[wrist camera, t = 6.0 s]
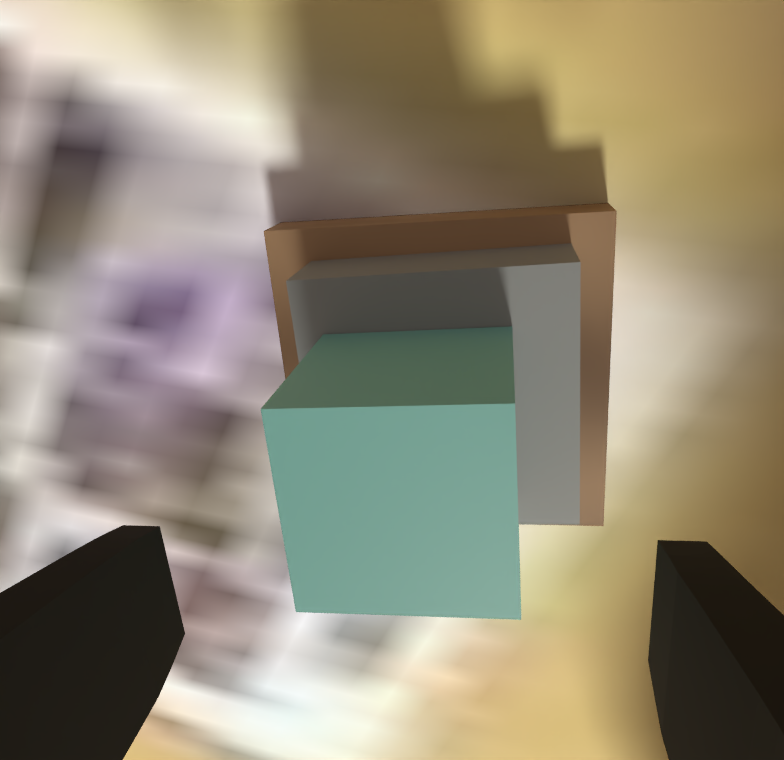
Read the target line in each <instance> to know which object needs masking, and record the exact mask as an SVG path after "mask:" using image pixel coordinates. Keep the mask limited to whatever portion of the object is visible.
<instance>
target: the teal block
mask: <svg viewBox="0 0 784 760" xmlns="http://www.w3.org/2000/svg"><path fill="white" fill-rule="evenodd" d="M261 413H262V419H263V425H264V431H265V436H266V442H267V448H268V454H269V459H270V465H271V471H272V477H273V482H274V488H275V494H276V500H277V505H278V511H279V517H280V523H281V528H282V534H283V540H284V546H285V551H286V557H287V563H288V569H289V574H290V580H291V586H292V592H293V597H294V603H295V609H296V612H312V613H342V614H371V615H400V616H430V617H459V618H488V619H518V620H521V594H520V558H519V523H518V487H517V452H516V416H515V386H514V358H513V330H512V326H509V327H486V328H462V329H438V330H415V331H391V332H368V333H344V334H323V335H322V336H321V338H320V339H319V340H318V341H317V342H316V344H315V345H314V346H313V347H312V348H311V350H310V351H309V352H308V353H307V354H306V356H305V357H304V358H303V359H302V360H301V362H300V363H299V364H298V365H297V366H296V368H295V369H294V370H293V371H292V372H291V374H290V375H289V376H288V377H287V378H286V380H285V381H284V382H283V383H282V384H281V386H280V387H279V388H278V389H277V390H276V392H275V393H274V394H273V395H272V396H271V398H270V399H269V400H268V401H267V402H266V403H265V405H264V406H263V407H262V408H261Z"/></svg>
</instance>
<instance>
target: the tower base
mask: <svg viewBox="0 0 784 760" xmlns="http://www.w3.org/2000/svg"><path fill="white" fill-rule="evenodd" d="M615 234H616V210H615V209H614V208H613V207H612V206H611V205H610V204H608V203H600V204H583V205H567V206H550V207H533V208H516V209H500V210H483V211H466V212H449V213H433V214H416V215H399V216H382V217H366V218H349V219H332V220H315V221H298V222H282V223H279V224H277V225H275V226H273V227H271V228H269V229H267V230H265V231H264V236H265V243H266V250H267V256H268V263H269V270H270V277H271V283H272V290H273V297H274V304H275V311H276V317H277V324H278V331H279V338H280V344H281V351H282V358H283V365H284V372H285V378H287V377H288V376H289V375H290V374H291V372H292V371H293V370H294V369H295V368H296V366H297V365H298V364H299V360H298V354H297V348H296V341H295V335H294V329H293V322H292V316H291V310H290V303H289V297H288V291H287V284H286V280H288V279H289V278H290V277H291V276H293V275H294V274H295V273H297V272H298V271H299V270H300V269H302V268H303V267H304V266H306V265H307V264H308V263H309V262H311V261H320V260H334V259H349V258H363V257H378V256H392V255H407V254H421V253H436V252H451V251H465V250H480V249H494V248H509V247H524V246H538V245H553V244H567V243H571V244H572V246H573V248H574V250H575V252H576V254H577V256H578V258H579V260H580V262H581V275H580V525H583V526H603V522H604V498H605V474H606V450H607V426H608V402H609V378H610V354H611V330H612V306H613V282H614V258H615ZM537 525H547V524H537Z"/></svg>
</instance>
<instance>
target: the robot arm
mask: <svg viewBox="0 0 784 760" xmlns="http://www.w3.org/2000/svg"><path fill="white" fill-rule="evenodd" d="M184 635H185V631H184V627H183V623H182V619H181V615H180V610H179V606H178V602H177V598H176V593H175V589H174V585H173V581H172V577H171V572H170V568H169V564H168V560H167V556H166V551H165V547H164V543H163V539H162V534H161V530H160V526H126V525H123V526H121V527H119V528H117V529H114V530H112V531H110V532H108V533H106V534H104V535H102V536H100V537H98V538H96V539H94V540H93V541H91V542H89V543H87V544H85V545H83V546H82V547H80V548H78V549H76V550H74V551H73V552H71V553H69V554H67V555H66V556H64V557H62V558H60V559H58V560H57V561H55V562H53V563H52V564H50V565H48V566H46V567H45V568H43V569H41V570H39V571H38V572H36V573H34V574H32V575H31V576H29V577H27V578H25V579H24V580H22V581H20V582H18V583H17V584H15V585H13V586H12V587H10V588H8V589H6V590H5V591H3V592H1V593H0V760H123V758H124V756H125V755H126V753H127V751H128V749H129V748H130V746H131V744H132V743H133V741H134V739H135V737H136V736H137V734H138V732H139V730H140V729H141V727H142V725H143V723H144V722H145V720H146V718H147V716H148V715H149V713H150V711H151V709H152V707H153V706H154V704H155V702H156V700H157V698H158V697H159V694H160V692H161V690H162V688H163V685H164V683H165V681H166V678H167V676H168V674H169V672H170V669H171V667H172V665H173V662H174V660H175V657H176V655H177V652H178V650H179V647H180V645H181V642H182V640H183V637H184ZM648 662H649V667H650V673H651V679H652V685H653V690H654V696H655V702H656V707H657V712H658V717H659V723H660V728H661V733H662V737H663V741H664V744H665V748H666V751H667V754H668V758H669V760H784V615H783V614H782V613H781V612H780V611H778V610H777V609H776V608H775V607H774V606H773V605H772V604H771V603H770V602H769V601H768V600H767V599H766V598H765V597H764V596H763V595H762V594H761V593H760V592H758V591H757V590H756V589H755V588H754V587H753V586H752V585H751V584H750V583H749V582H748V581H747V580H746V579H745V578H744V577H743V576H742V575H741V574H740V573H739V572H738V571H737V570H736V569H735V568H734V567H733V566H732V565H731V564H730V563H728V562H727V561H726V560H725V559H724V558H723V557H722V556H721V555H720V554H719V553H718V552H717V551H716V550H715V549H714V548H713V547H712V546H711V545H710V544H709V543H708V542H701V541H665V540H658V545H657V557H656V570H655V582H654V595H653V607H652V620H651V632H650V645H649V657H648Z"/></svg>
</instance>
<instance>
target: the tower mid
mask: <svg viewBox="0 0 784 760" xmlns="http://www.w3.org/2000/svg"><path fill="white" fill-rule="evenodd" d="M580 275H581V262H580V260H579V258H578V256H577V254H576V252H575V250H574V248H573V246H572V244H571V243H567V244H553V245H538V246H524V247H509V248H494V249H480V250H465V251H451V252H436V253H421V254H407V255H392V256H378V257H363V258H349V259H334V260H320V261H311V262H309V263H308V264H307V265H306V266H304V267H303V268H302V269H300V270H299V271H298V272H297V273H295V274H294V275H293V276H291V277H290V278H289V279H288V280H286V284H287V291H288V297H289V303H290V310H291V316H292V322H293V329H294V335H295V341H296V348H297V354H298V360H299V363H300V362H301V360H302V359H303V358H304V357H305V356H306V354H307V353H308V352H309V351H310V350H311V348H312V347H313V346H314V345H315V344H316V342H317V341H318V340H319V339H320V338H321V336H322V335H323V334H344V333H368V332H391V331H415V330H438V329H462V328H486V327H509V326H512V330H513V358H514V386H515V416H516V452H517V487H518V523H519V524H547V525H580Z"/></svg>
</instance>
